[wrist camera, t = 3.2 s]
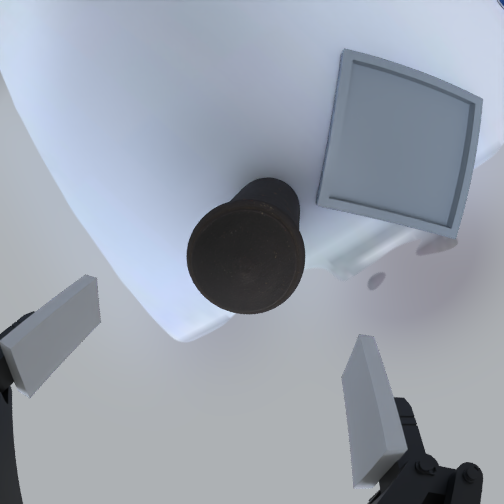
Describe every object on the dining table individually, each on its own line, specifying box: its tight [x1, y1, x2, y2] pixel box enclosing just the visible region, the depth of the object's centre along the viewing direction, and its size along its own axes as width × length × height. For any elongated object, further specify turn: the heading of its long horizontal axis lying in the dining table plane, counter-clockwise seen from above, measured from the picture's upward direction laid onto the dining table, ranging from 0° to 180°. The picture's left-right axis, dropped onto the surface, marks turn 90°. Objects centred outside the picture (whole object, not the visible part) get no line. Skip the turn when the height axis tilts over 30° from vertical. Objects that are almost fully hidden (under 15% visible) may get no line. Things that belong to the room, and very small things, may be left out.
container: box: [187, 178, 305, 314], centre depth 31 cm, size 9×9×20 cm
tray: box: [316, 49, 483, 239], centre depth 33 cm, size 20×20×2 cm
